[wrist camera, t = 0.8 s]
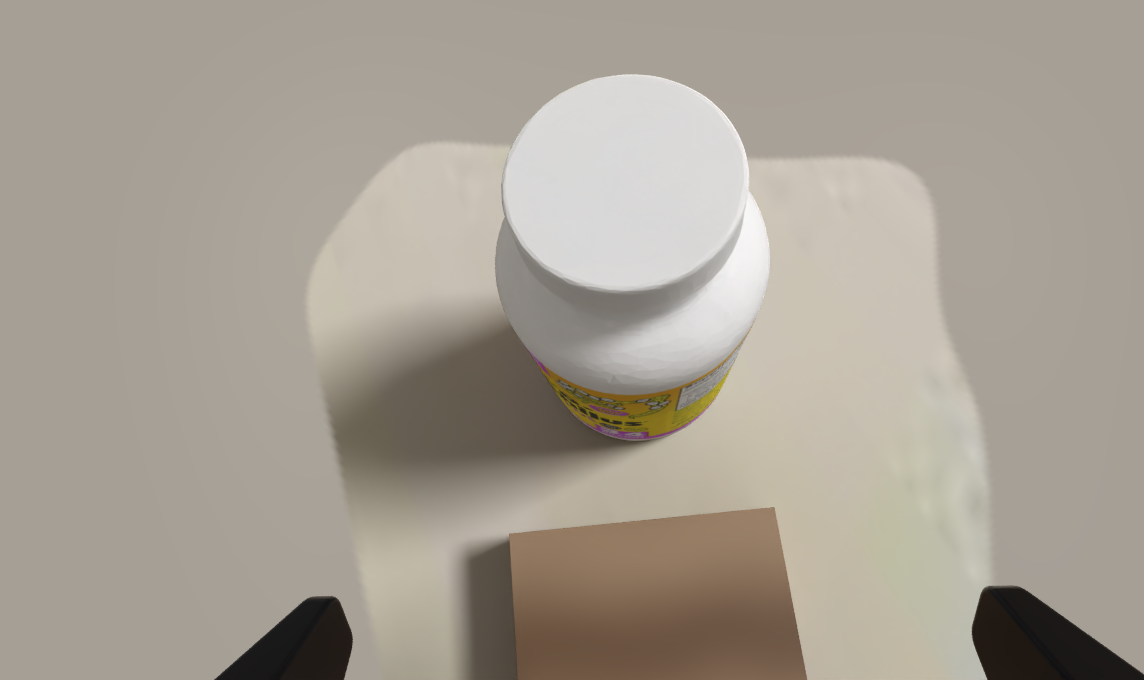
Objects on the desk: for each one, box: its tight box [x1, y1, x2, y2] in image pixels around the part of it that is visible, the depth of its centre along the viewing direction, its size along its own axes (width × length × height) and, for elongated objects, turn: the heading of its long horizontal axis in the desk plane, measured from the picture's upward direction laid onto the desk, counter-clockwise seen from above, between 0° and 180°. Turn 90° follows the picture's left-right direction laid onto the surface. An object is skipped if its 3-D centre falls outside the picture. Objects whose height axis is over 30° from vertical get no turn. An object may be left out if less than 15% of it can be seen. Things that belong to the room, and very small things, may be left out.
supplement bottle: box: [495, 74, 770, 441], centre depth 18 cm, size 7×7×13 cm
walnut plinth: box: [509, 507, 807, 680], centre depth 19 cm, size 8×8×2 cm
